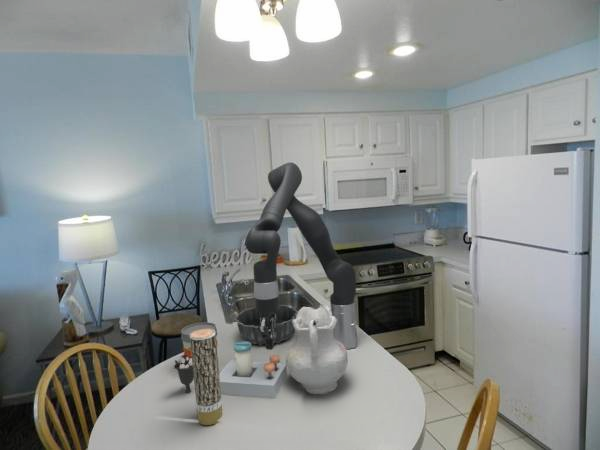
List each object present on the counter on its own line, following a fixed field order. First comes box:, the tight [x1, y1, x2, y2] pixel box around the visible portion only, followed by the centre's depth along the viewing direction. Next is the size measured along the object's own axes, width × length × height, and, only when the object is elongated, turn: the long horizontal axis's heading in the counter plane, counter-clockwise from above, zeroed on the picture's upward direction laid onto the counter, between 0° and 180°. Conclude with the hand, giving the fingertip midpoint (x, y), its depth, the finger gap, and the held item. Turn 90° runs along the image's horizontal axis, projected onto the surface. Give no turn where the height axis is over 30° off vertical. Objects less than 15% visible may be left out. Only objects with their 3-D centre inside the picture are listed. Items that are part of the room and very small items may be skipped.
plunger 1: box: [264, 361, 275, 378], centre depth 121 cm, size 3×3×4 cm
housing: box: [219, 360, 288, 399], centre depth 126 cm, size 20×14×5 cm
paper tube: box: [190, 329, 223, 426], centre depth 109 cm, size 7×7×25 cm
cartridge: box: [233, 340, 253, 377], centre depth 126 cm, size 6×6×14 cm
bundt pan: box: [234, 304, 299, 346], centre depth 166 cm, size 26×26×10 cm
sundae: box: [173, 348, 194, 394], centre depth 123 cm, size 7×7×15 cm
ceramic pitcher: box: [285, 303, 349, 395], centre depth 123 cm, size 22×20×25 cm
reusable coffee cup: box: [180, 321, 218, 355], centre depth 140 cm, size 13×13×15 cm
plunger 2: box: [269, 354, 281, 370], centre depth 126 cm, size 3×3×4 cm
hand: (270, 348), depth 123 cm, fingers closed
